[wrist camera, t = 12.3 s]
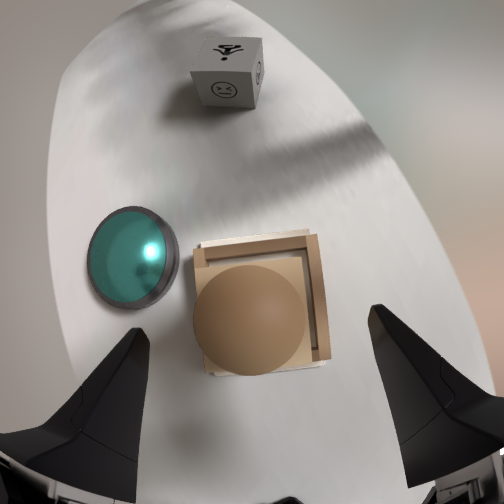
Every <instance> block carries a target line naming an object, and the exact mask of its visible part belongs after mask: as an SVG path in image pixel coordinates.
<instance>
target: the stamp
mask: <svg viewBox="0 0 504 504" xmlns="http://www.w3.org/2000/svg"><path fill="white" fill-rule="evenodd" d="M194 270H195V282H196V293H197V301H196V304H195V308H194V314H193V327H194V332H195V336H196V339H197V341H198V343H199V346H200V347H201V349H202V351H203V357H204V365H205V372H206V373H209V372H231V373H234V374H238V375H245V376H255V375H262V374H265V373H269V372H271V371H273V370H276V369H277V368H281V367H290V366H298V365H305V364H312V352H311V340H310V329H309V319H308V309H307V300H306V291H305V282H304V274H303V266H302V258H301V257H293V258H284V259H276V260H267V261H258V262H249V263H240V264H231V265H222V266H213V267H204V268H195V269H194Z"/></svg>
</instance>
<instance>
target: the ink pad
mask: <svg viewBox="0 0 504 504" xmlns="http://www.w3.org/2000/svg"><path fill="white" fill-rule="evenodd" d="M178 266H179V247H178V242H177V239H176V236H175V234H174V232H173V230H172V229H171V227H170V226H169V225H168V223H167V222H166V221H165V220H163V219H162V218H161V217H159V216H158V215H157V214H155V213H154V212H152V211H151V210H149V209H146V208H143V207H138V206H129V207H124V208H121V209H118V210H116V211H114V212H113V213H111V214H110V215H108V216H107V217H106V218H105V219H104V220H103V221H102V222H101V223H100V224H99V226H98V227H97V229H96V230H95V232H94V234H93V236H92V238H91V241H90V244H89V249H88V255H87V267H88V274H89V277H90V281H91V283H92V285H93V287H94V289H95V291H96V292H97V293H98V295H99V296H100V297H101V298H102V299H103V300H104V301H106V302H107V303H108V304H110V305H112V306H114V307H118V308H122V309H136V308H144V307H147V306H150V305H152V304H154V303H156V302H157V301H158V300H160V299H161V298H162V297H163V296H164V295H165V294H166V293H167V292H168V290H169V289H170V287H171V286H172V284H173V282H174V280H175V278H176V274H177V271H178Z"/></svg>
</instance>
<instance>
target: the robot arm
mask: <svg viewBox="0 0 504 504" xmlns="http://www.w3.org/2000/svg"><path fill="white" fill-rule="evenodd" d="M368 327H369V331H370V336H371V340H372V345H373V350H374V355H375V359H376V363H377V366H378V369H379V372H380V375H381V379H382V382H383V385H384V389H385V392H386V396H387V399H388V403H389V406H390V410H391V414H392V417H393V421H394V425H395V429H396V433H397V437H398V442H399V446H400V451H401V455H402V460H403V465H404V470H405V475H406V480H407V486H408V488H412V487H415V486H418V485H421V484H424V483H427V482H430V481H433V480H435V485H436V486H434V487H432V489H431V490H430V492H429V494H428V495H427V497H426V498H425V500H424V501H423V503H422V504H504V397H497V396H493V395H490V394H488V393H486V392H485V391H484V390H482V389H481V388H480V387H478V386H477V385H476V384H474V383H473V382H472V381H470V380H469V379H468V378H466V377H465V376H464V375H463V374H461V373H460V372H459V371H458V370H456V369H455V368H454V367H453V366H452V365H451V364H449V363H448V362H447V361H446V360H445V359H444V358H443V357H441V355H440V354H438V353H437V352H436V351H435V350H434V349H433V348H432V347H431V346H430V345H429V344H427V343H426V342H425V341H424V340H423V339H422V338H421V337H420V336H418V335H417V334H416V333H415V332H414V331H413V330H412V329H411V328H409V327H408V326H407V325H406V324H405V323H404V322H403V321H401V320H400V319H399V318H398V317H397V316H396V315H394V314H393V313H392V312H391V311H390V310H389V309H387V308H386V307H385V306H384V305H383V304H376V305H372V306H371V309H370V313H369V317H368ZM149 350H150V342H149V339H148V338H147V336H146V334H145V333H144V331H143V330H142V329H141V328H131V329H130V330H129V331H128V333H127V334H126V335H125V336H124V337H123V338H122V339H121V340H120V341H119V342H118V344H117V345H116V346H115V347H114V348H113V349H112V350H111V351H110V353H109V354H108V355H107V356H106V357H105V358H104V359H103V361H102V362H101V363H100V364H99V365H98V366H97V367H96V369H95V370H94V371H93V372H92V373H91V374H90V375H89V377H88V378H87V379H86V380H85V381H84V382H83V384H82V386H80V387H79V388H78V390H77V391H76V392H75V393H74V394H73V395H72V396H71V397H70V399H69V400H68V401H67V402H66V403H65V404H64V405H63V406H62V407H61V408H60V409H59V410H58V411H57V412H56V413H55V414H54V415H53V416H52V417H51V418H50V419H49V420H48V421H47V422H45V423H44V424H43V425H41V426H38V427H35V428H31V429H27V430H22V431H17V432H12V433H6V434H2V433H0V451H2V452H3V453H4V454H6V455H7V456H9V457H10V461H9V460H7V459H5V458H3V457H2V456H0V504H114V502H115V500H120V501H124V502H129V503H136V486H137V469H138V454H139V443H140V433H141V425H142V416H143V408H144V401H145V394H146V387H147V380H148V367H149ZM290 501H293V502H290ZM276 504H303V503H302V502H301V501H299V500H298V499H297V498H295V497H289V498H287V499H285V500H283V501H280V502H278V503H276Z"/></svg>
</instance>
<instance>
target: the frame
mask: <svg viewBox="0 0 504 504" xmlns="http://www.w3.org/2000/svg"><path fill="white" fill-rule="evenodd" d="M293 257H301V258H302V266H303V274H304V282H305V291H306V300H307V309H308V319H309V329H310V340H311V352H312V364H305V365H298V366H290V367H281V368H277V369H276V370H273V371H271V372H278V371H287V370H295V369H302V368H309V367H316V366H322V365H325V364H324V360H328V359H331V348H330V336H329V326H328V315H327V306H326V297H325V289H324V280H323V273H322V265H321V258H320V251H319V244H318V238H317V234H313V235H310V232H309V229H303V230H294V231H285V232H277V233H268V234H260V235H252V236H244V237H236V238H228V239H220V240H212V241H204V242H201V248H197V249H193V258H194V269H195V268H204V267H213V266H222V265H231V264H240V263H249V262H258V261H267V260H276V259H284V258H293ZM194 271H195V270H194ZM195 283H196V282H195ZM214 374H215V376H228V375H238V374H234V373H231V372H214Z"/></svg>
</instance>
